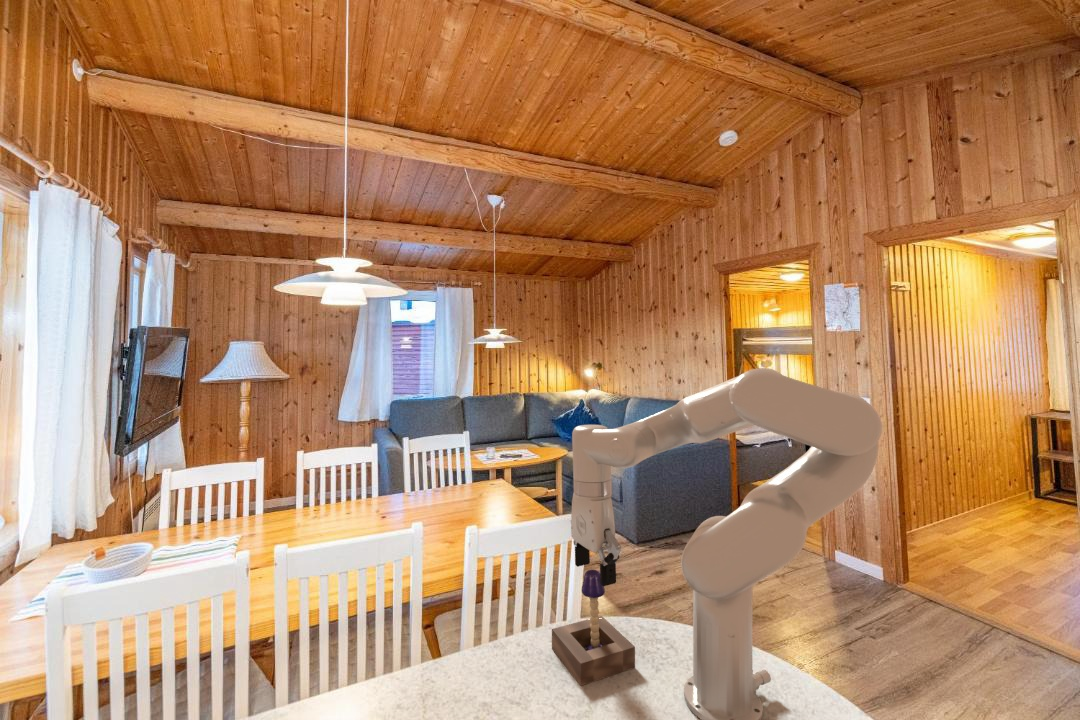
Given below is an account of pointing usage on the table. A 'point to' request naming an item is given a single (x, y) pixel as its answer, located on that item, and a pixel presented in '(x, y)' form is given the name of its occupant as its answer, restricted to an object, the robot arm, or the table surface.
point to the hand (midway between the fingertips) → (594, 574)
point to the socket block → (592, 651)
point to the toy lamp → (593, 604)
